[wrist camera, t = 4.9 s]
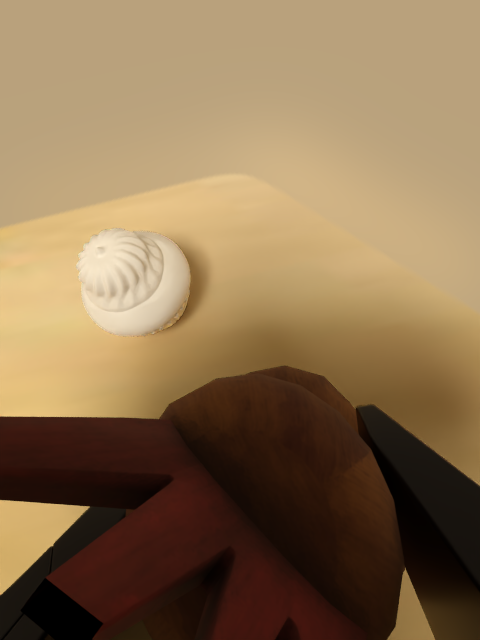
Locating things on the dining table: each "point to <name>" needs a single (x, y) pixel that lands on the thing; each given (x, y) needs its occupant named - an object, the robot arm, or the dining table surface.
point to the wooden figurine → (217, 516)
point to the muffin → (133, 281)
